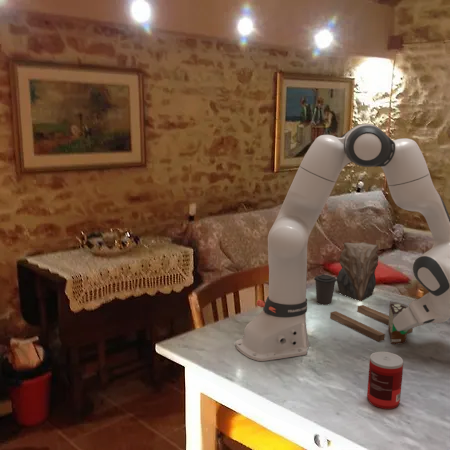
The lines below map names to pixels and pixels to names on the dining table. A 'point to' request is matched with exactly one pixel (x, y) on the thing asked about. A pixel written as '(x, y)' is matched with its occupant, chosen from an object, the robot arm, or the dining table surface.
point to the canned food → (385, 379)
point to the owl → (358, 270)
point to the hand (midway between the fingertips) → (407, 327)
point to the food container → (394, 335)
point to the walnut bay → (362, 327)
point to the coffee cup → (324, 288)
